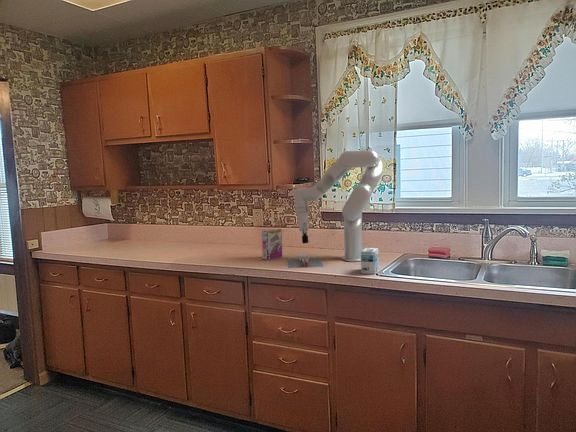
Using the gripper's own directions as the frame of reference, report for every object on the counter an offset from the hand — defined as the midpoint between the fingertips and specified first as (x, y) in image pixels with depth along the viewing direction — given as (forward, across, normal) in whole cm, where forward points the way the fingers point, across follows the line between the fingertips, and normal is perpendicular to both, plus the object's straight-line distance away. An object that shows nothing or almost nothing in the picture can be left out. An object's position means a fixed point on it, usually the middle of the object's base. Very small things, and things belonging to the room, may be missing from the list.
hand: (305, 243), depth 251 cm
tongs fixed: (+8, +14, -2) cm, 16 cm away
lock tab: (+8, +7, -2) cm, 11 cm away
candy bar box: (+8, -4, -19) cm, 21 cm away
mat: (+9, +12, -2) cm, 15 cm away
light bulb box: (+12, +35, +28) cm, 47 cm away
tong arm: (+8, +16, -3) cm, 18 cm away
